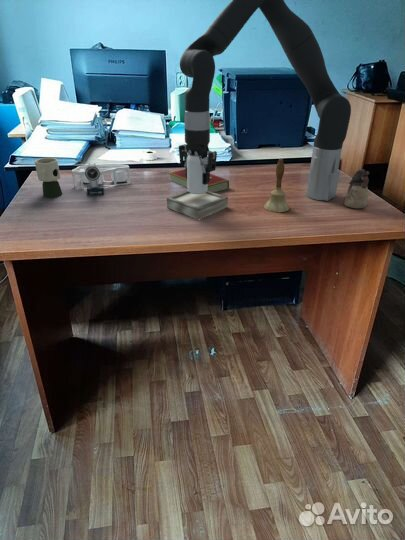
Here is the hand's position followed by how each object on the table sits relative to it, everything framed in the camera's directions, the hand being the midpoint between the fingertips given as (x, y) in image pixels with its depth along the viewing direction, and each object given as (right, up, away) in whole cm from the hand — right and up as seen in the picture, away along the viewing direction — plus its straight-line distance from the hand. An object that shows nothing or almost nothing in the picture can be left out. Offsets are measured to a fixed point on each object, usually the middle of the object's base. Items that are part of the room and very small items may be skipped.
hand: (197, 181), depth 126 cm
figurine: (+53, -6, +8) cm, 54 cm away
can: (0, -3, +2) cm, 3 cm away
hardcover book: (0, +3, +24) cm, 24 cm away
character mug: (-50, -3, +12) cm, 52 cm away
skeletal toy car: (-35, +3, +22) cm, 42 cm away
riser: (0, -8, +4) cm, 9 cm away
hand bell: (+26, -8, +5) cm, 28 cm away
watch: (-36, -2, +14) cm, 39 cm away
